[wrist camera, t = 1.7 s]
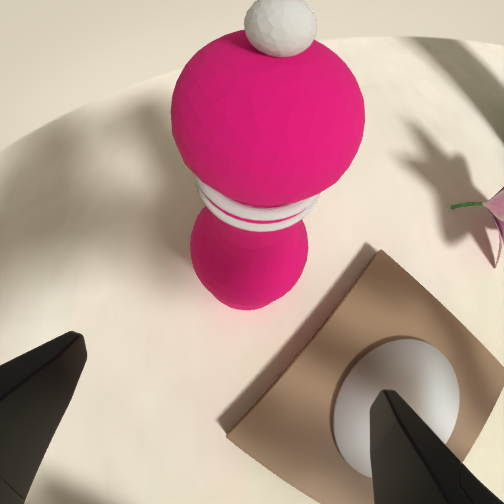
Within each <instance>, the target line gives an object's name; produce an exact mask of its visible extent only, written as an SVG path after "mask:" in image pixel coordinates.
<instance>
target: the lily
mask: <svg viewBox="0 0 504 504" xmlns="http://www.w3.org/2000/svg"><path fill="white" fill-rule="evenodd" d="M470 205H481V206H486V207H487V208H488V210H489V211H490V213H491V215H492V217H493V219H494V221H495V223H496V226H497V228H498V231H499V237H500V244H499V252H498V257H497V261H496V265H495V268H496V266H497V263H498V260H499V257H500V253H501V248H502V240H503V244H504V187H503V188H502V189H501V190H500V191H499V192H498V193H497V194H496V195H495V196H494V197H492V198H491V199H490V200H489V201H488V202H470V203H463V204H458V205H453V206H451V208H452V209H453V208H458V207H463V206H470Z"/></svg>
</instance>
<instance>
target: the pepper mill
mask: <svg viewBox="0 0 504 504" xmlns="http://www.w3.org/2000/svg"><path fill="white" fill-rule="evenodd" d="M244 26H245V30H240V31H237V32H233V33H230V34H227V35H224V36H222V37H220V38H218V39H216V40H214V41H212V42H210V43H209V44H207V45H206V46H204V47H203V48H202V49H200V50H199V51H198V52H197V53H196V54H195V55H194V56H193V57H192V58H191V59H190V61H189V62H188V63H187V64H186V65H185V67H184V69H183V71H182V73H181V74H180V76H179V78H178V80H177V82H176V85H175V88H174V92H173V95H172V104H171V122H172V134H173V137H174V140H175V142H176V145H177V147H178V149H179V151H180V154H181V156H182V158H183V160H184V162H185V164H186V165H187V166H188V167H189V168H190V170H191V171H192V172H193V173H194V174H195V176H196V183H197V188H198V192H199V194H200V196H201V198H202V200H203V201H204V203H205V205H206V206H205V207H204V208H203V209H202V211H201V212H200V214H199V215H198V217H197V220H196V222H195V225H194V228H193V231H192V234H191V243H190V246H191V258H192V263H193V267H194V269H195V272H196V274H197V276H198V278H199V279H200V281H201V282H202V284H203V285H204V286H205V287H206V288H207V289H208V290H209V291H210V292H211V293H212V294H213V295H214V296H215V297H216V298H217V299H218V300H219V301H220V302H222V303H223V304H225V305H227V306H229V307H231V308H235V309H240V310H255V309H258V308H262V307H264V306H266V305H268V304H270V303H271V302H273V301H275V300H277V299H279V298H280V297H282V296H284V295H285V294H286V293H287V292H289V291H290V290H291V289H292V287H293V286H294V285H295V284H296V283H297V281H298V279H299V278H300V276H301V274H302V272H303V269H304V266H305V264H306V261H307V254H308V239H307V232H306V228H305V225H304V223H303V220H302V219H303V218H304V217H305V216H306V215H307V214H308V213H309V212H310V211H311V210H312V208H313V207H314V205H315V204H316V202H317V200H318V197H319V195H320V193H321V192H322V191H324V190H325V189H327V188H328V187H330V186H332V185H333V184H335V183H336V182H337V181H338V180H339V179H340V177H341V176H342V175H343V174H344V173H345V171H346V170H347V169H348V168H349V166H350V164H351V163H352V161H353V159H354V157H355V155H356V153H357V151H358V149H359V146H360V143H361V141H362V137H363V131H364V124H365V110H364V99H363V96H362V93H361V91H360V88H359V85H358V83H357V81H356V78H355V76H354V75H353V73H352V72H351V71H350V69H349V68H348V66H347V65H346V63H345V62H344V61H343V60H342V59H341V58H340V57H339V56H338V55H337V54H335V53H334V52H333V51H331V50H330V49H329V48H327V47H326V46H325V45H323V44H321V43H319V42H317V41H316V40H314V38H315V36H316V33H317V23H316V18H315V15H314V12H313V11H312V9H311V8H310V7H309V6H308V4H306V2H304V1H302V0H257V1H255V2H254V4H253V5H252V6H251V8H250V9H249V10H248V11H247V14H246V16H245V20H244Z"/></svg>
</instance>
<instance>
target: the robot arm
mask: <svg viewBox="0 0 504 504" xmlns="http://www.w3.org/2000/svg"><path fill="white" fill-rule="evenodd" d="M86 360H87V350H86V346H85V341H84V337H83V335H82V334H80V333H77V332H74V331H69V332H67V333H65V334H63V335H61V336H59V337H57V338H55V339H53V340H51V341H49V342H47V343H45V344H43V345H41V346H39V347H37V348H35V349H32V350H30V351H28V352H26V353H24V354H22V355H20V356H18V357H16V358H14V359H12V360H10V361H8V362H6V363H4V364H2V365H0V504H24V502H25V499H26V497H27V494H28V492H29V489H30V487H31V484H32V482H33V480H34V477H35V475H36V473H37V470H38V468H39V466H40V464H41V461H42V459H43V457H44V455H45V453H46V450H47V448H48V446H49V444H50V442H51V440H52V438H53V435H54V433H55V431H56V429H57V427H58V425H59V423H60V421H61V419H62V417H63V415H64V413H65V411H66V409H67V407H68V405H69V403H70V401H71V399H72V396H73V394H74V391H75V388H76V386H77V383H78V381H79V378H80V375H81V373H82V370H83V368H84V365H85V363H86ZM370 461H371V471H372V482H373V493H374V504H504V503H503V502H502V501H501V500H500V499H499V498H498V497H497V496H495V495H494V494H493V493H492V492H491V491H490V490H489V489H488V488H486V487H485V486H484V485H483V484H482V483H481V482H480V481H479V480H478V479H477V478H476V477H475V476H474V475H473V474H472V473H471V472H470V471H469V470H468V469H467V467H466V466H465V465H464V464H463V463H461V461H460V460H459V459H458V458H457V457H456V456H455V454H454V453H453V452H452V451H451V450H450V449H449V448H448V447H447V446H446V445H445V444H444V442H443V441H442V440H441V439H440V438H439V437H438V436H437V435H436V434H435V433H434V432H433V430H432V429H431V428H430V427H429V426H428V425H427V424H426V423H425V422H424V421H423V420H422V419H421V417H420V416H419V415H418V414H417V413H416V412H415V411H414V410H413V409H412V408H411V407H410V406H409V405H408V403H407V402H406V401H405V400H404V399H403V398H402V397H401V396H400V395H399V394H398V393H397V392H396V391H395V390H393V389H383V390H381V391H380V392H379V394H378V396H377V397H376V399H375V400H374V402H373V404H372V405H371V408H370Z"/></svg>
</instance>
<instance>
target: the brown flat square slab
mask: <svg viewBox="0 0 504 504" xmlns="http://www.w3.org/2000/svg"><path fill="white" fill-rule="evenodd" d="M503 386H504V367H503V366H502V365H501V364H500V363H499V362H498V360H497V359H496V358H495V357H494V356H493V355H492V354H491V353H490V352H489V351H488V350H487V349H486V348H485V347H484V346H483V345H482V344H481V343H480V341H479V340H478V339H477V338H476V337H475V336H474V335H473V334H472V333H471V332H470V331H469V330H468V329H467V328H466V327H465V326H464V325H463V324H462V323H461V322H460V321H459V320H458V319H457V318H456V317H455V316H454V315H453V314H452V313H451V312H450V311H448V310H447V309H446V308H445V307H444V306H443V305H442V304H441V303H440V302H439V301H438V300H437V299H436V298H435V297H434V296H433V295H432V294H431V293H430V292H428V291H427V290H426V289H425V288H424V287H423V286H422V285H421V284H420V283H419V282H418V281H416V280H415V279H414V278H413V277H412V276H411V275H410V274H409V273H408V272H407V271H405V270H404V269H403V268H402V267H401V266H400V265H399V264H398V263H396V262H395V261H394V260H393V259H392V258H391V257H390V256H388V255H387V254H386V253H385V252H384V251H383V250H380V251H378V252H377V253H376V254H375V255H374V257H373V258H372V260H371V261H370V262H369V264H368V265H367V267H366V268H365V269H364V271H363V272H362V274H361V275H360V276H359V278H358V279H357V281H356V282H355V283H354V285H353V286H352V287H351V289H350V290H349V291H348V293H347V294H346V295H345V297H344V298H343V299H342V301H341V302H340V303H339V305H338V306H337V307H336V309H335V310H334V311H333V312H332V314H331V315H330V316H329V318H328V319H327V320H326V321H325V323H324V324H323V325H322V326H321V328H320V329H319V330H318V331H317V333H316V334H315V335H314V336H313V338H312V339H311V340H310V341H309V343H308V344H307V345H306V346H305V347H304V349H303V350H302V351H301V352H300V353H299V355H298V356H297V357H296V358H295V359H294V361H293V362H292V363H291V364H290V365H289V366H288V368H287V369H286V370H285V371H284V372H283V373H282V374H281V376H280V377H279V378H278V379H277V380H276V381H275V382H274V384H273V385H272V386H271V387H270V388H269V389H268V390H267V391H266V393H265V394H264V395H263V396H262V397H261V398H260V399H259V400H258V401H257V402H256V404H255V405H254V406H253V407H252V408H251V409H250V410H249V411H248V412H247V413H246V414H245V415H244V416H243V417H242V418H241V420H240V421H239V422H238V423H237V424H236V425H235V426H234V427H233V428H232V429H231V430H230V431H229V432H228V433H227V434H226V438H228V439H229V440H230V441H231V442H233V443H234V444H235V445H236V446H238V447H239V448H240V449H242V450H243V451H244V452H245V453H247V454H248V455H249V456H251V457H252V458H253V459H255V460H256V461H257V462H259V463H260V464H262V465H263V466H264V467H266V468H267V469H269V470H270V471H271V472H273V473H274V474H276V475H277V476H279V477H280V478H281V479H283V480H284V481H286V482H287V483H289V484H290V485H292V486H293V487H295V488H296V489H298V490H300V491H301V492H303V493H304V494H306V495H307V496H309V497H311V498H312V499H314V500H316V501H317V502H319V503H321V504H374V493H373V482H372V471H371V461H370V408H371V405H372V404H373V402H374V400H375V399H376V397H377V396H378V394H379V392H380V391H381V390H383V389H393V390H395V391H396V392H397V393H398V394H399V395H400V396H401V397H402V398H403V399H404V400H405V401H406V402H407V403H408V405H409V406H410V407H411V408H412V409H413V410H414V411H415V412H416V413H417V414H418V415H419V416H420V417H421V419H422V420H423V421H424V422H425V423H426V424H427V425H428V426H429V427H430V428H431V429H432V430H433V432H434V433H435V434H436V435H437V436H438V437H439V438H440V439H441V440H442V441H443V442H444V444H445V445H446V446H447V447H448V448H449V449H450V450H451V451H452V452H453V453H454V454H455V456H456V457H457V458H458V459H459V460H460V461H461V463H462V462H463V461H464V459H465V458H466V456H467V454H468V453H469V451H470V449H471V448H472V446H473V444H474V443H475V441H476V439H477V438H478V436H479V434H480V432H481V430H482V429H483V427H484V425H485V423H486V421H487V419H488V417H489V416H490V414H491V412H492V410H493V408H494V406H495V404H496V402H497V399H498V397H499V395H500V393H501V391H502V389H503Z"/></svg>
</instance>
